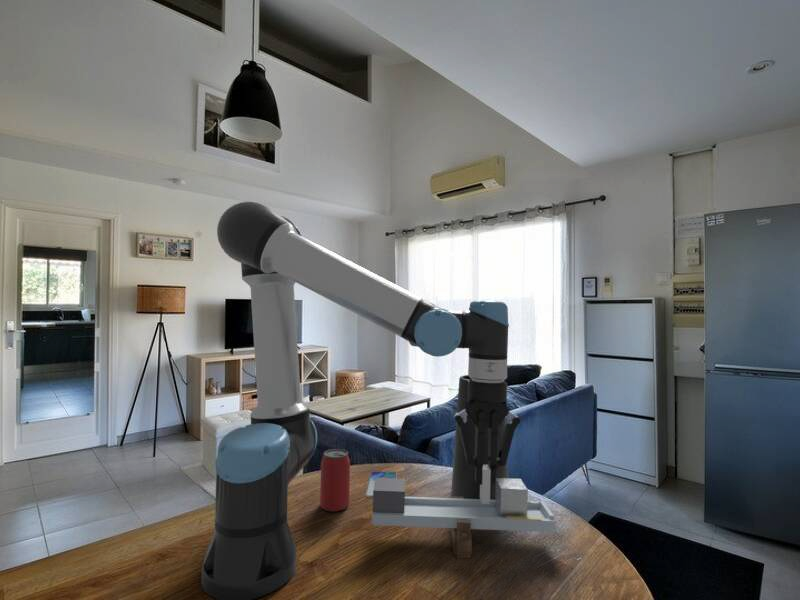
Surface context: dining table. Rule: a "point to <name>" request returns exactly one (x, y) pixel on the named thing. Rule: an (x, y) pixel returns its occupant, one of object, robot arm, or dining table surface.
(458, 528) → the fulcrum
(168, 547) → the dining table surface
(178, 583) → the dining table surface
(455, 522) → the beam
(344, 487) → the beer can
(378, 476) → the smartphone
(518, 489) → the block
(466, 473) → the vase
